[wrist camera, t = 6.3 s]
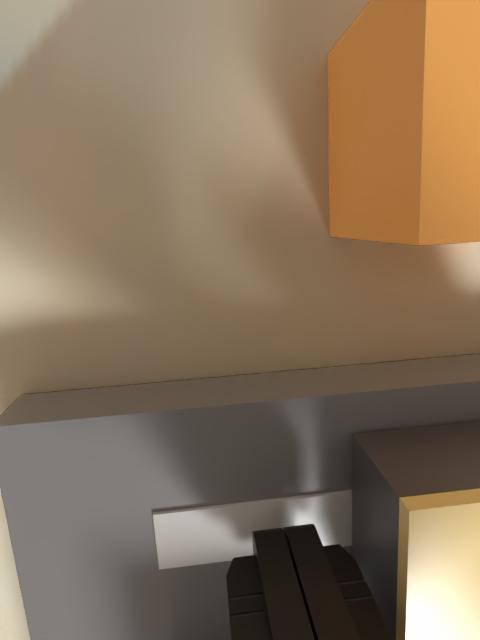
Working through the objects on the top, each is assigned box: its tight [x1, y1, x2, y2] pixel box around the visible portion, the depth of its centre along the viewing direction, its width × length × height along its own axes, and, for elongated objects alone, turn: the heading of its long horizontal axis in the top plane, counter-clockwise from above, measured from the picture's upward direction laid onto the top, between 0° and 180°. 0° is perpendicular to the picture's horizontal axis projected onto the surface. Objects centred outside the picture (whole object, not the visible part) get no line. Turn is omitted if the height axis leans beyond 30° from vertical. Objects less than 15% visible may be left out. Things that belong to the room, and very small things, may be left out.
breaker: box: [352, 421, 480, 640], centre depth 10 cm, size 5×5×3 cm
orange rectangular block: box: [327, 0, 480, 246], centre depth 9 cm, size 4×4×5 cm
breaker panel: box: [0, 354, 480, 640], centre depth 13 cm, size 18×14×3 cm
